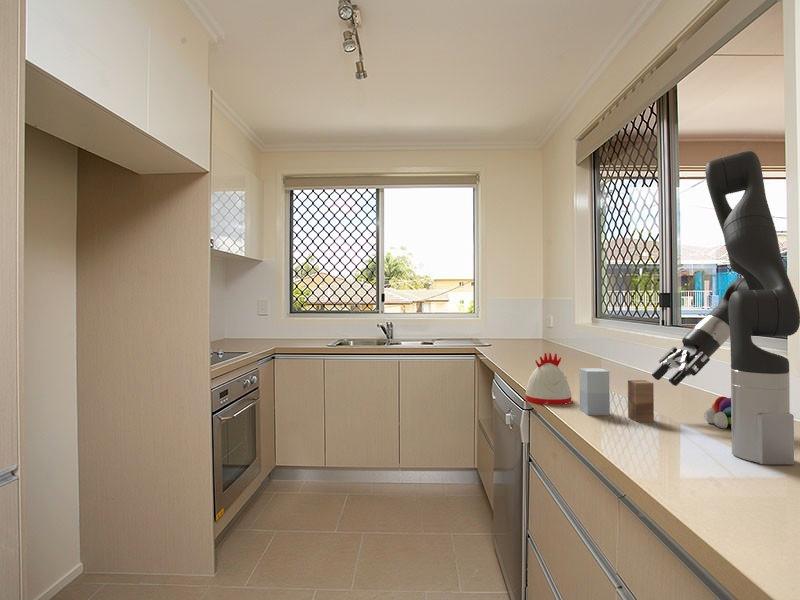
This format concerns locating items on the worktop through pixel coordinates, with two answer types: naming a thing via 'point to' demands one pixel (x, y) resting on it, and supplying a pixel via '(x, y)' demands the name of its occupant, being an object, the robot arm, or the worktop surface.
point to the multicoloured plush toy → (719, 412)
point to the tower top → (594, 380)
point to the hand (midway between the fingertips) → (662, 380)
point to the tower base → (595, 403)
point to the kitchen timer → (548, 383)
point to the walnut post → (640, 401)
